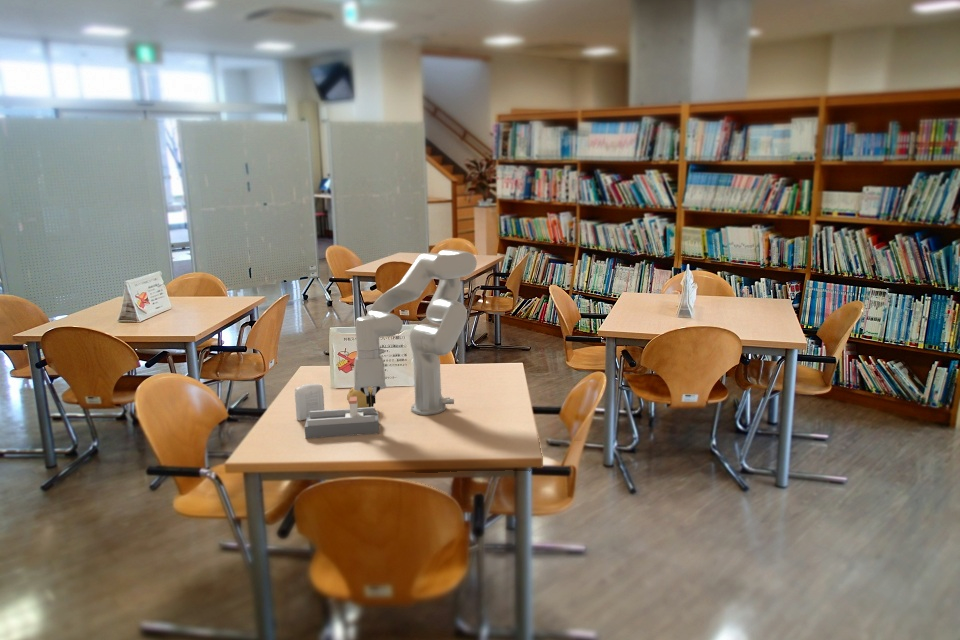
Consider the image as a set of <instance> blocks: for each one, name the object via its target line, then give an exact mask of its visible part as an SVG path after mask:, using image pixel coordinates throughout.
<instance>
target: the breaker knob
mask: <svg viewBox="0 0 960 640" xmlns="http://www.w3.org/2000/svg"><path fill="white" fill-rule="evenodd" d="M348 404H349V405H348V406H349V409H350V413H346V414H345V417H353V416H363V412H358V405H357V396H356V397H350V399H349V402H348Z"/></svg>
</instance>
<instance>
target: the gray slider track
mask: <svg viewBox="0 0 960 640" xmlns="http://www.w3.org/2000/svg"><path fill="white" fill-rule="evenodd" d="M358 412H363V416H353V417H345V414H346V413H350V408H339V409H338V408H336V409H324V410H320V411H310V416H307V419H305V424H304V436H305V439H319V438H329V437H330V438H332V437H345V436H347V435H348V436H358V435H357V434H362V435H373V434H374V433H377V434H379V432H380V431H379V430H380V425H379V423H380V422H379V421H380V420H379V411H376V407H375V406H374V407H367V408H358ZM374 435H375V434H374Z"/></svg>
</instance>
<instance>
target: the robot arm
mask: <svg viewBox="0 0 960 640" xmlns="http://www.w3.org/2000/svg"><path fill="white" fill-rule="evenodd" d="M477 262H478V261H477V259H476V256H475V255H474V254H473V253H471V252H469V251H464V250H457V249H456V250H455V249H442V250H440V251H439V252H438V253H430V252H424V253H421V254H419V255H418V256H417V257H416V259H415V260H414V262H413V263H412V264H411V266H410V267H409V269H408V270H407V271H406V272H405V274H404V276H403V277H402V278H401V280H400V281H399V282H398V284H396V285H394V286H393V287H391V288H390V289H388V290H387V291H385V292H384V293H383V294H381V295H380V296H379V297H378V298H377V299H376V300H375V301H374V302H373V304H372V305H371V306H370V308H369V309H368V311H367V312H366V315H364V316H360V317H357V318H356V319H355V322H354V323H355V325H354V326H355V341H356V356H355V358H354V364H353V366H354V367H353V369H354V370H353V372H354V373H353V374H354V377H353V379H354V380H353V381H354V386H353V387H354V390H358V391H362V392H363V393H364V394H365V395H366V402H367V404H369V407H375V405H374V404H376V402H377V401H376V395H377V393H379V391H380V390H385V389H387V384H386V372H385V370H386V369H385V363H384V357H383V354H385V348H380V338H382V337H393V336H396V335H397V334H399V333H400V332H401V330H402V328H403V321H402V319H401V317H399V316H398V315H396V314H394V313H391V312H392V311H393V310H394V309H395V308H397V307H400V306H402V305H404V304H407V303H410V302H414V301H417V300H418V299H419V298H420V297H421V296H422V294H423V293H424V291H425V290H426V289H427V287H428V285H429V284H430V283H431V281H432V280H434V279H435V280H439V282H438V285H437V287H436V290H435V292H434V294H433V296H432V298H431V300H430V302H429V304H428V306H427V308H426V312H425V316H426V319H427V320H428V321H429V322H430V323H433V324H436V325H439V326H436V325H431V324H426V323H419V324H417V325H415V326H414V327H413V328H412V330H411V331H410V334H409V344H410V348H411V353H412V359H413V360H412V361H413V381H414V382H413V383H414V384H413V385H414V386H413V387H414V403H413V404H412V405H411V406H410V410H411V412H412V413H414V414H417V415H422V416H430V415H431V416H432V415H437V414H440V413H442V412H445V410H446V408H447V406H446V405H455V399H454V398H451V397H443V396H442V395H443V394H442V385H441V383H442V382H441V380H442V379H441V360H440V356H442V357H443V356H446V355H448V354H450V353H451V352H452V351H453V349H454V347H455V345H456V343H457V341H458V339H459V337H460V335H461V333H462V331H463V329H464V328H465V325H466V323H467V319H468V312H467V308H466V306H465V304H463V303H462V302H460V301H458V300H459V297H460V295H461V292H462V281H461V279H460V278H464V277H467V276H470V275H472V274H473V273H474V272H475V270H476V269H477V266H478V265H477ZM368 387H371V388H372V389H373V390H372V392H371V394H370V392H369V390H368Z"/></svg>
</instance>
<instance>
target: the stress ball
mask: <svg viewBox="0 0 960 640" xmlns="http://www.w3.org/2000/svg"><path fill="white" fill-rule="evenodd" d="M368 390H369V392H370V394H371V392H372V390H373V387H368ZM356 396H357V405H358V408H367V407H369V404H367V402H366V395H365V394H364V393H363V392H362V391H358V390H354V386H353V387H352V388H350V389H349V392H348V393H347V397H346V400H347V401H348V403H349V399H350V397H356Z"/></svg>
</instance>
